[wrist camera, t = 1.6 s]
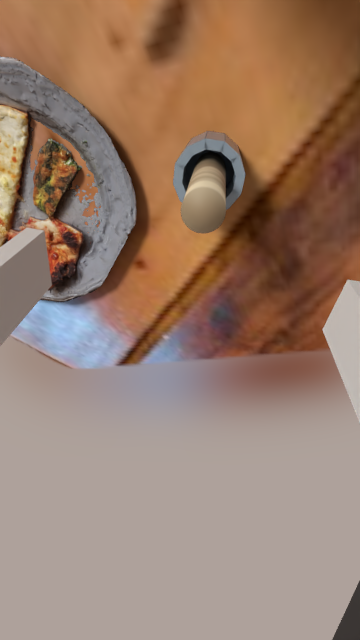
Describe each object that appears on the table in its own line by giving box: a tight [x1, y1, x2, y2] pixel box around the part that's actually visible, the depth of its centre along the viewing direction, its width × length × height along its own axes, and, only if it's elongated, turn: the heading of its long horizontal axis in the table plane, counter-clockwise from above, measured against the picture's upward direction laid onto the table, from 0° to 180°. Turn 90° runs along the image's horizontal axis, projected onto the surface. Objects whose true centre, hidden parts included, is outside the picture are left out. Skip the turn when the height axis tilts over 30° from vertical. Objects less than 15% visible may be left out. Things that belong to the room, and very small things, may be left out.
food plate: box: [0, 56, 137, 302], centre depth 36 cm, size 25×23×4 cm
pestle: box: [181, 152, 226, 233], centre depth 27 cm, size 3×3×13 cm
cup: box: [173, 131, 245, 210], centre depth 30 cm, size 6×6×5 cm
